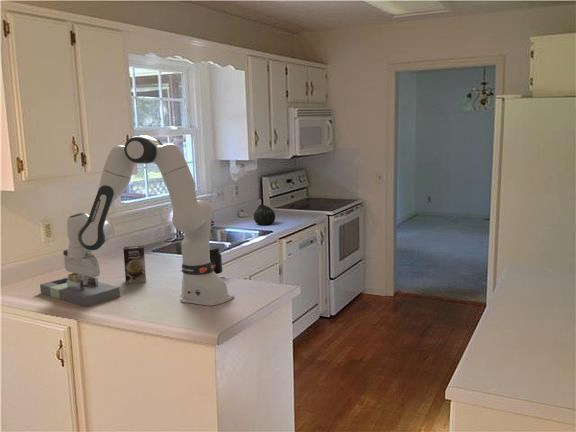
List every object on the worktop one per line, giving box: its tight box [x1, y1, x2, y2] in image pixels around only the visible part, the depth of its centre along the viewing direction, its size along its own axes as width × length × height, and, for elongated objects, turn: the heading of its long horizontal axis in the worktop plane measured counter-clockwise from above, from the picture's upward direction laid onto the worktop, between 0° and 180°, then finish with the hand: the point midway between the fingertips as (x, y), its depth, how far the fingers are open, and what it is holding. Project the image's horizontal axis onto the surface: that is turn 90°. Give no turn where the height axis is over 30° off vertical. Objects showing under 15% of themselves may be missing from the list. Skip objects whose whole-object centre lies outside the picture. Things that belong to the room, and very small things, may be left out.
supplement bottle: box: [209, 246, 223, 275], centre depth 256 cm, size 7×7×12 cm
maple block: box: [67, 272, 82, 286], centre depth 228 cm, size 5×5×5 cm
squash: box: [253, 204, 276, 226], centre depth 380 cm, size 14×15×15 cm
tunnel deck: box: [39, 276, 121, 308], centre depth 228 cm, size 34×16×8 cm, turn 53°
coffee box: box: [123, 244, 147, 285], centre depth 245 cm, size 9×6×16 cm
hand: (83, 284), depth 225 cm, fingers closed
